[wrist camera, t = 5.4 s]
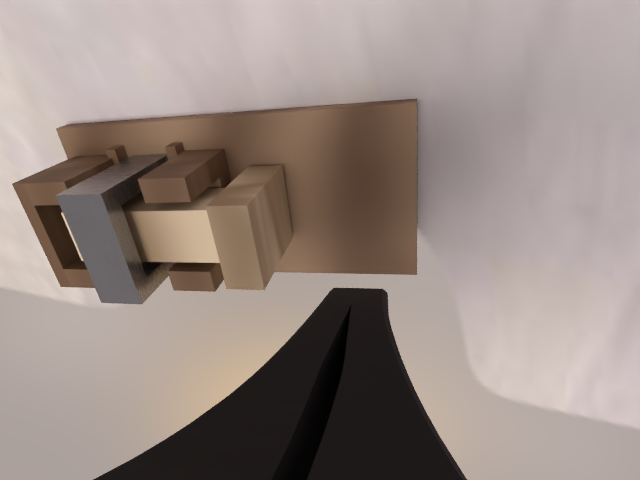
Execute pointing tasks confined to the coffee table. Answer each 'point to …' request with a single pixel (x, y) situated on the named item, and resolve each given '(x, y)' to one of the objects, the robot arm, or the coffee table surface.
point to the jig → (258, 150)
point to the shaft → (218, 228)
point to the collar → (113, 231)
